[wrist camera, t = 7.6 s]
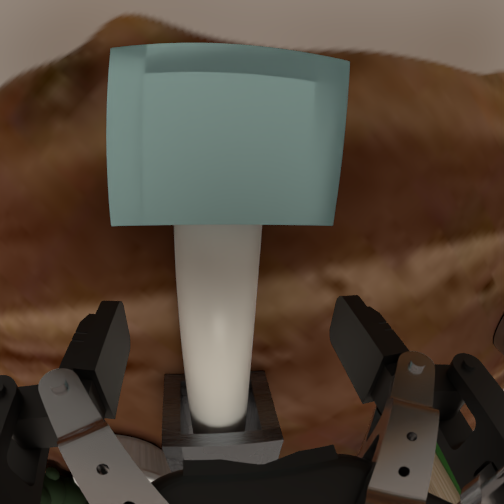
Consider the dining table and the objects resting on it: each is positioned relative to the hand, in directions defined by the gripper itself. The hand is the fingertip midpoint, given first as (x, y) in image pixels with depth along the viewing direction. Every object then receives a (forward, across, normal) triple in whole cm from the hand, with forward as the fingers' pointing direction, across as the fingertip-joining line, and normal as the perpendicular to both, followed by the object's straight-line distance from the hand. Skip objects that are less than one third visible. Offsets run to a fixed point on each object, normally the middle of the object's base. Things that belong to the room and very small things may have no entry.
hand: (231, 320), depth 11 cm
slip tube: (+7, 0, +5) cm, 9 cm away
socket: (+7, 0, -6) cm, 10 cm away
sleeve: (+7, 0, +14) cm, 16 cm away
